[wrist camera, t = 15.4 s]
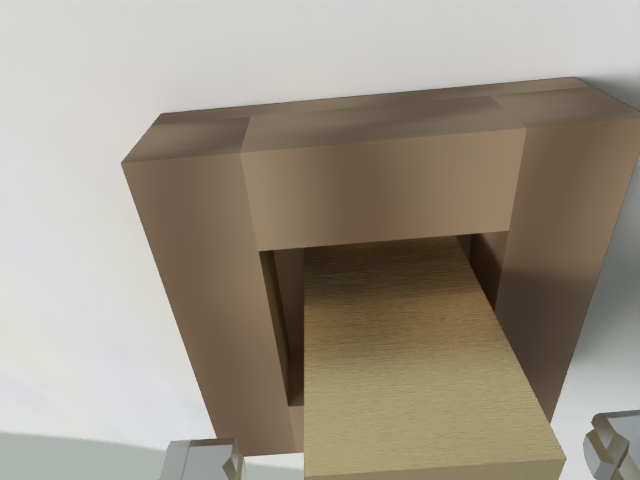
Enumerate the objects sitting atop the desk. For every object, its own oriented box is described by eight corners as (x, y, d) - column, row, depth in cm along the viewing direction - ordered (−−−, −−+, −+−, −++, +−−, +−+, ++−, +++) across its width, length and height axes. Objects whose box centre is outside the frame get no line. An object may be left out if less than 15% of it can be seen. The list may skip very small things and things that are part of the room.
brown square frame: (574, 76, 13) (650, 117, 10) (511, 361, 20) (546, 435, 17) (160, 113, 13) (121, 163, 10) (235, 382, 20) (223, 458, 17)
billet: (446, 217, 14) (566, 458, 8) (437, 321, 17) (522, 570, 10) (304, 229, 15) (303, 476, 8) (316, 330, 17) (323, 583, 10)
